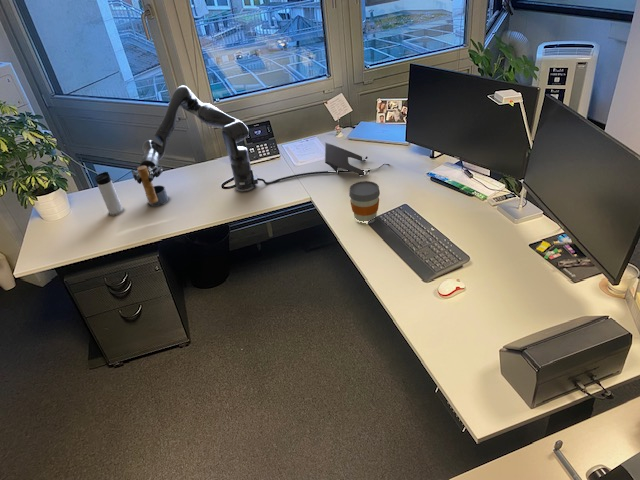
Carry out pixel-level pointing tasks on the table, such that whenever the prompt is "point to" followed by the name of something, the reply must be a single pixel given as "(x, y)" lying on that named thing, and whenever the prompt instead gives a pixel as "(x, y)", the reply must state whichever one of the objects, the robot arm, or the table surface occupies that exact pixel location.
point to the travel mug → (109, 193)
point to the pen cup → (160, 195)
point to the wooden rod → (147, 184)
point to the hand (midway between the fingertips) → (144, 181)
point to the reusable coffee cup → (364, 200)
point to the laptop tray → (341, 159)
